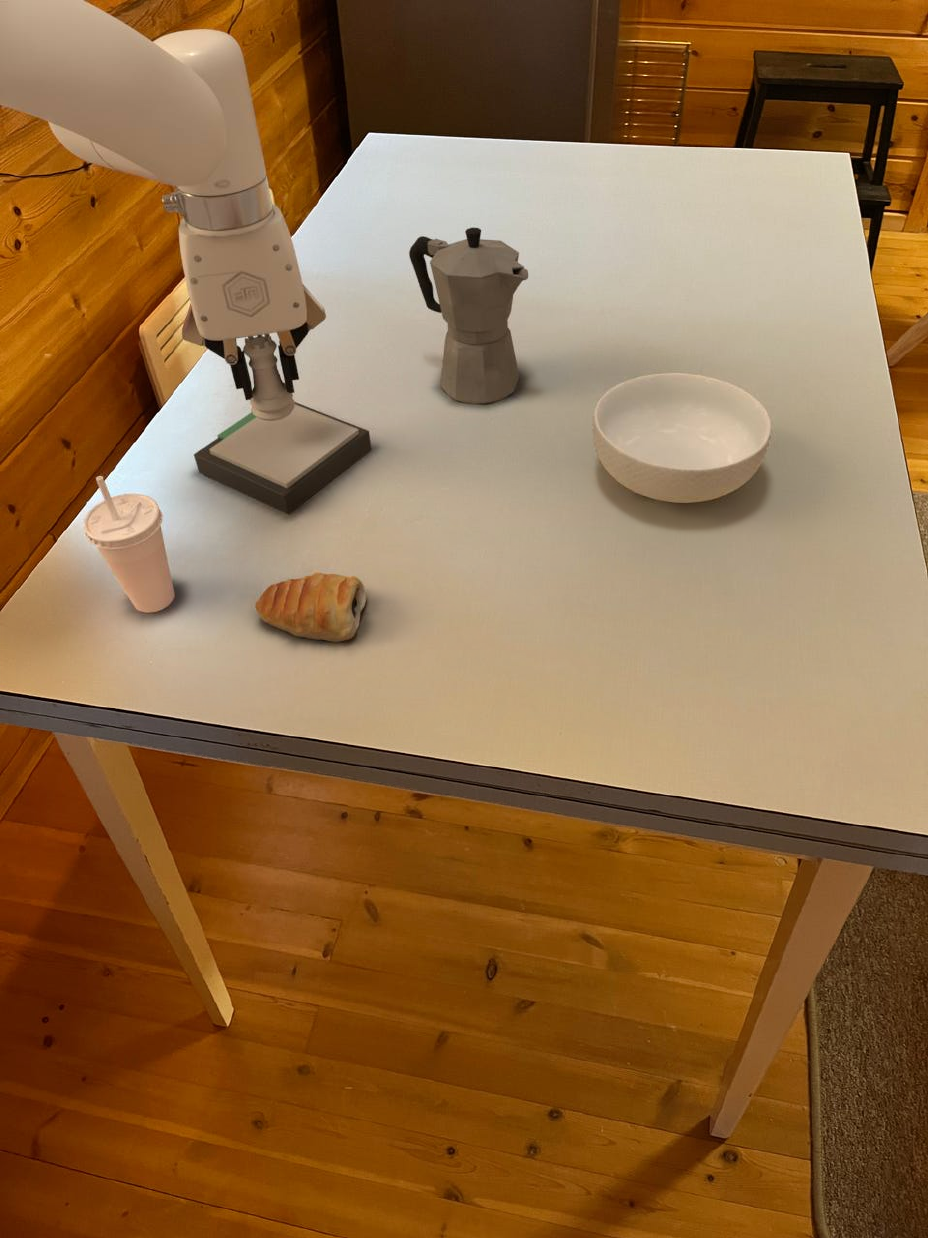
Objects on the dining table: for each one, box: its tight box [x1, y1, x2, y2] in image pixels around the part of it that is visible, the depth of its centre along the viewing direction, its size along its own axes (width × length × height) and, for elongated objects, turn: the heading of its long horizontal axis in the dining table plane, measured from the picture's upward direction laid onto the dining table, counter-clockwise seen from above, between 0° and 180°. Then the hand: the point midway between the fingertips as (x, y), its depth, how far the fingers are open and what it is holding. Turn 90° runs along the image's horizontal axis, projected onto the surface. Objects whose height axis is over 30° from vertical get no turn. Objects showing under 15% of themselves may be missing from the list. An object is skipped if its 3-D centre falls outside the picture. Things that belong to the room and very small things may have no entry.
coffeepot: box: [408, 227, 529, 405], centre depth 102 cm, size 15×9×18 cm, turn 53°
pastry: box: [254, 572, 367, 643], centre depth 81 cm, size 9×7×4 cm
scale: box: [193, 401, 372, 515], centre depth 98 cm, size 13×13×3 cm
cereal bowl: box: [592, 372, 773, 504], centre depth 91 cm, size 17×17×7 cm
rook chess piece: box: [242, 334, 296, 421], centre depth 91 cm, size 4×4×8 cm
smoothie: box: [82, 475, 176, 614], centre depth 80 cm, size 6×6×14 cm
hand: (269, 387), depth 92 cm, fingers closed on rook chess piece, 3 cm apart
